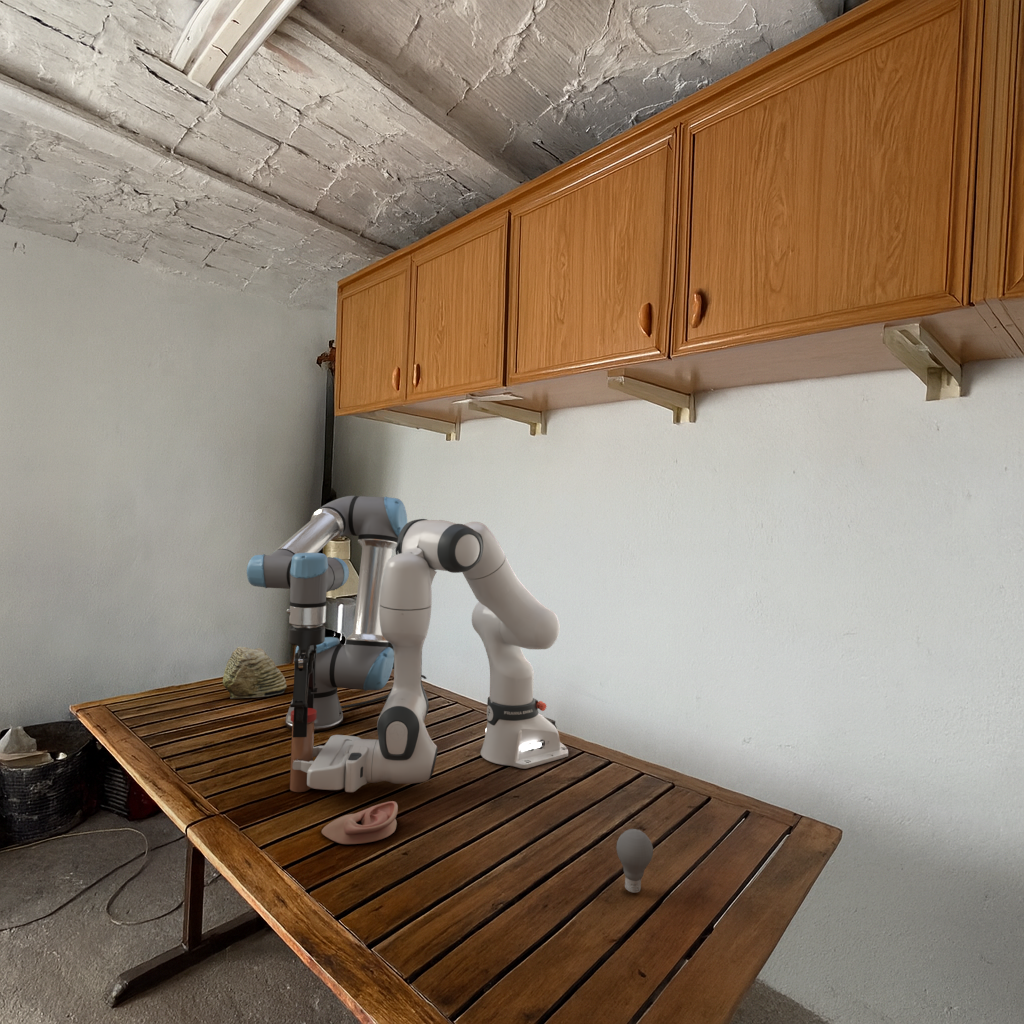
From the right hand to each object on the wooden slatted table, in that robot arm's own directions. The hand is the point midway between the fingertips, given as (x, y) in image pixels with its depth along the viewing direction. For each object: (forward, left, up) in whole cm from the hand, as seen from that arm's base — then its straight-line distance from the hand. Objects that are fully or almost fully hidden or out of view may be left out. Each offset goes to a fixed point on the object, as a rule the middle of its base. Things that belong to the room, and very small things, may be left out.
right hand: (297, 758), depth 137 cm
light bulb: (-45, +59, -6) cm, 75 cm away
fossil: (+3, -69, -6) cm, 70 cm away
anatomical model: (-8, +23, -6) cm, 25 cm away
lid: (-1, 0, +10) cm, 10 cm away
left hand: (-1, 0, +6) cm, 6 cm away
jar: (-1, 0, -6) cm, 6 cm away
